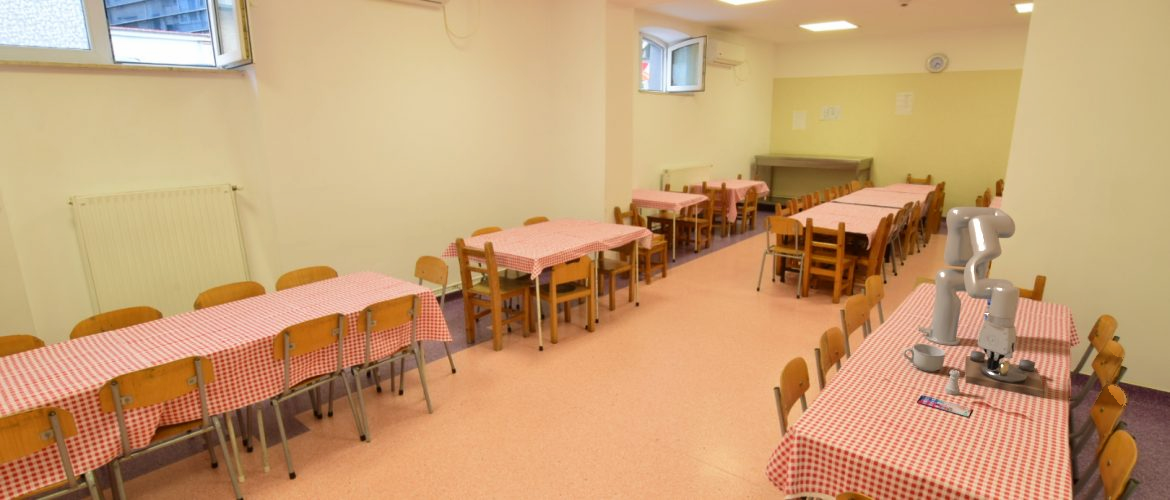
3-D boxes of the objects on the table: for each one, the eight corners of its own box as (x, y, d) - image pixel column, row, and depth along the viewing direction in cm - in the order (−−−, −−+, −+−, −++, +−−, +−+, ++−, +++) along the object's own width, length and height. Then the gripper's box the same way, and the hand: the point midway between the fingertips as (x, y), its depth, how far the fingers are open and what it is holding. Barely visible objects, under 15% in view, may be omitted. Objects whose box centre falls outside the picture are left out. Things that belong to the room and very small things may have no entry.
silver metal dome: (1024, 386, 195) (1027, 370, 194) (979, 376, 203) (981, 360, 202) (1026, 374, 205) (1029, 358, 204) (983, 365, 213) (985, 349, 212)
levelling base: (965, 382, 205) (967, 368, 203) (965, 361, 223) (967, 348, 221) (1043, 397, 193) (1045, 382, 192) (1035, 374, 211) (1038, 360, 210)
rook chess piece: (954, 396, 194) (958, 374, 192) (941, 391, 198) (944, 369, 196) (962, 393, 196) (965, 372, 194) (949, 388, 200) (952, 367, 198)
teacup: (940, 365, 219) (943, 346, 217) (944, 376, 209) (947, 356, 208) (899, 359, 225) (902, 340, 223) (901, 370, 215) (904, 350, 213)
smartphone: (969, 417, 179) (915, 402, 189) (969, 419, 180) (915, 404, 189) (973, 408, 185) (921, 394, 195) (973, 410, 185) (921, 396, 195)
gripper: (972, 315, 203) (964, 362, 207) (1018, 328, 190) (1008, 379, 194) (984, 311, 206) (976, 358, 211) (1031, 325, 193) (1021, 375, 197)
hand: (992, 368), depth 202 cm, fingers closed
